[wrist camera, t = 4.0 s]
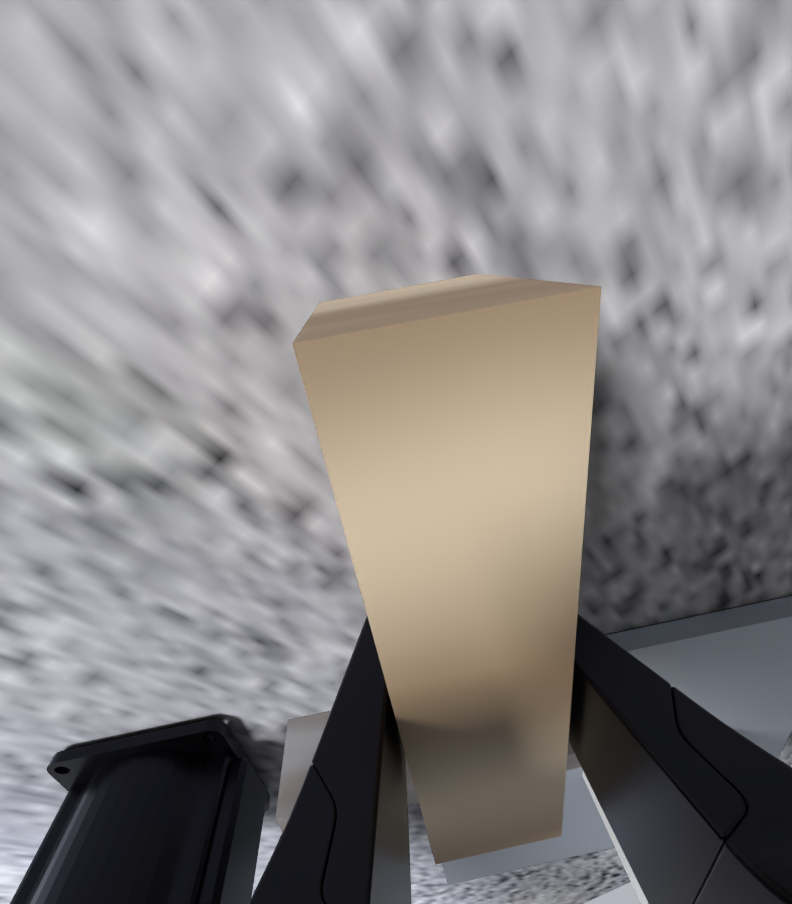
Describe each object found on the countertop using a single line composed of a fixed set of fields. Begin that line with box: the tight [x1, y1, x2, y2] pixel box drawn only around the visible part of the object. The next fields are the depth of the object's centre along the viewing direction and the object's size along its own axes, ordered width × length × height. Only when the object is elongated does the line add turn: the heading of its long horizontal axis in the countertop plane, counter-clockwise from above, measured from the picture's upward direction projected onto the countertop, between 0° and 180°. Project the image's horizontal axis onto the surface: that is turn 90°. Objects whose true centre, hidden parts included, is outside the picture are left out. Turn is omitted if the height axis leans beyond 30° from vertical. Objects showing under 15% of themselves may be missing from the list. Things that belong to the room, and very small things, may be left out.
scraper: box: [275, 274, 601, 864], centre depth 8 cm, size 13×11×4 cm
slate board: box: [442, 596, 792, 885], centre depth 19 cm, size 18×18×1 cm
